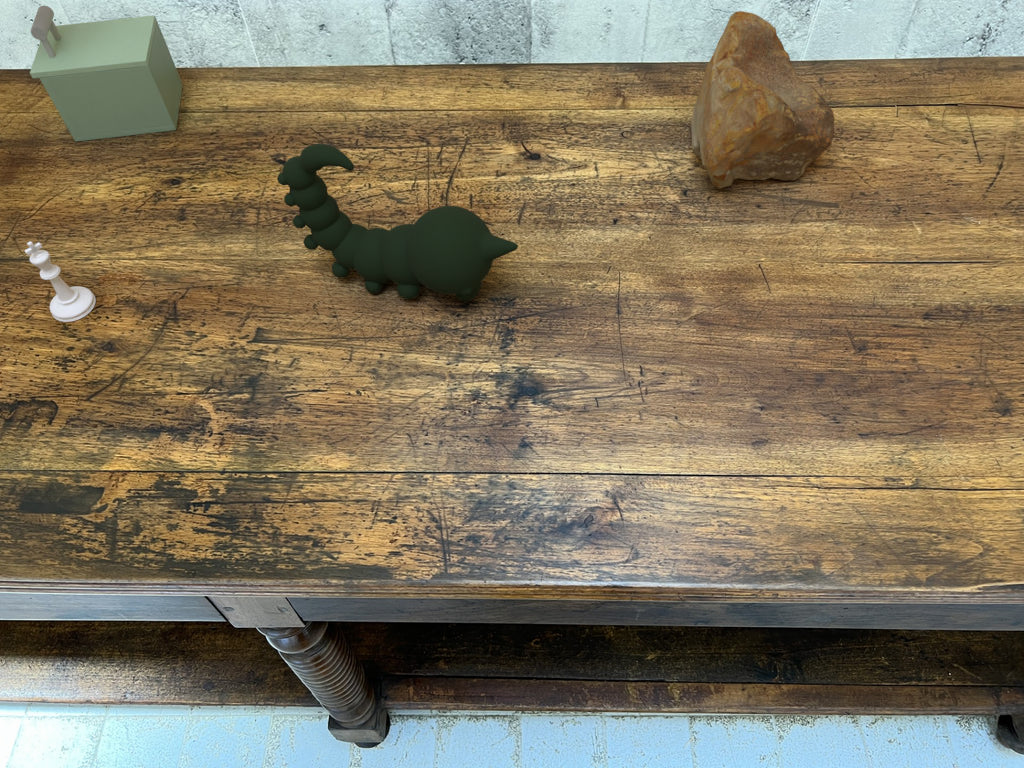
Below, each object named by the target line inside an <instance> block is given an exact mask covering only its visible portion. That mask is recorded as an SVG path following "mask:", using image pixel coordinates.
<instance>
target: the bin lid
mask: <svg viewBox="0 0 1024 768" xmlns="http://www.w3.org/2000/svg"><path fill="white" fill-rule="evenodd" d="M54 17H55V12H54V10H53V9H52V8H51V7H50V6H49V5H40V6H39V7H38V9H37V11H36V13H35V17H34V19H33V22H32V25H31V28H30V35H31V36H32V37H33V38H34V39H36V40H38V41H39V44H38V47H37V50H36V53H35V56H34V59H33V62H32V65H31V68H30V70H29V75H30V77H31V78H32V79H40V78H42V77H52V76H61V75H70V74H79V73H88V72H97V71H106V70H115V69H124V68H134V67H143V66H148V63H149V58H150V53H151V48H152V43H153V38H154V33H155V28H156V22H158V20H157V18H156V15H154V14H153V15H145V16H137V17H136V16H134V17H126V18H119V19H118V18H117V19H116V18H115V19H109V20H108V19H107V20H106V19H105V20H99V21H98V20H97V21H90V22H89V21H88V22H80V23H79V22H78V23H71V24H70V23H69V24H60V25H56V24H55V21H54Z"/></svg>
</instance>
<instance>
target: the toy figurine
mask: <svg viewBox="0 0 1024 768" xmlns="http://www.w3.org/2000/svg"><path fill="white" fill-rule="evenodd" d="M282 166H283V167H282V172H279V173H278V175H277V178H276V179H277V182H278V184H280V185H281V186H288V187H289V191H288V193H286V194H285V195H284V198H283V201H284V203H285V205H287V206H288V207H290V208H291V207H294V206H297V208H299V209H298V211H299V214H296V215H295V216H294V217H293V219H292V224H293V227H294V228H296V229H300V230H302V229H304V228H305V227H307V228H308V229H309V230H310V234H307V235H306V236H305V237H304V239H303V245H304V247H305V248H306V249H307V250H309V251H316V250H317V249H318V248H319V247H320V248H321V249H322V250H324V251H328V252H330V253H331V254H332V257H333V258H334V260H335V261H334V262H333V264H332V265H331V271H332V275H333V276H334V277H335V278H337V279H343V278H347V277H348V276H349V275H350V273H351V270H354V271H356V273H357V274H358V275H359V276H360V277H361V278H363V280H365V282H364V288H365V289H366V291H368V293H370V294H378V293H380V292H381V291H382V289H383V288H384V283H388V282H391V281H392V282H393V283H394V284H397V285H396V287H397V292H398V296H400V297H402V298H403V299H405V300H407V301H409V300H414V299H415V298H418V297H419V295H420V293H421V285H423V286H424V287H426V288H427V289H429V290H430V291H434V292H436V293H439V294H443V295H454V296H455V297H456V299H458V300H460V301H463V302H468V301H472V300H473V299H475V298H476V297H477V296H478V294H479V292H480V290H481V287H482V283H483V281H484V280H485V278H486V277H487V276H488V274H489V273H490V271H491V268H492V266H493V262H494V260H496V259H499V258H501V257H503V256H506V255H507V254H510V253H512V252H514V251H516V250H518V248H519V245H518V244H517V243H516V242H514V241H511V240H508V239H505V238H502V237H500V236H496V235H494V234H492V231H491V230H490V228H489V226H488V225H487V224H486V223H485V221H484V220H483V219H482V218H481V217H480V216H479V215H477V214H476V213H474V212H472V211H471V210H469V209H468V208H464V207H462V206H459V205H442V206H439V207H435V208H432V209H430V210H428V211H426V212H425V213H423V214H422V215H421V216H420V217H419V218H417V220H416V221H415V222H414V223H406V224H398V225H395V226H393V227H392V228H391V229H386V228H384V227H371V228H367V227H366V226H364V225H362V224H358V223H353V222H352V220H351V219H350V217H349V216H348V214H346V213H345V212H343V211H342V210H340V208H339V203H338V202H337V200H336V199H335V197H333V196H332V195H330V194H329V193H328V185H327V184H326V182H325V181H324V179H323V178H322V177H321V176H319V175H318V173H317V172H318V171H321V170H322V169H323V168H324V167H339V168H343V169H344V170H346V171H349V172H352V171H354V169H355V165H354V163H353V161H352V160H351V159H350V158H349V156H347V155H346V154H345V153H344V152H343V151H342V150H340V149H338V148H336V147H335V146H333V145H329V144H325V143H316V144H311V145H308V146H306V147H304V148H303V149H302V150H301V152H300V154H299V155H297V156H293V157H290V158H288V159H287V160H286V161H285V162H284V164H283V165H282Z"/></svg>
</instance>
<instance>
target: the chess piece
mask: <svg viewBox="0 0 1024 768" xmlns="http://www.w3.org/2000/svg"><path fill="white" fill-rule="evenodd" d="M26 245H27V246H28V248H26V249H25V250H24V252H25V254H26V255H27V256H28V257H29V262H30V264H32V265H33V266H35V267H37V268H38V270H39V277H40V278H41V279H42V280H45V281H49V282H50V284H51V286H52V287H53V289H54V291H55V295H54V296H53V298H52V299H51V301H50V303H49V311H50V313H51V315H52V317H53V318H54V319H55V320H57V321H58V322H62V323H69V322H70V323H71V322H76V321H78V320H81V319H84V318H85V317H86V316H88V315H89V314H90V313H91V312H92V311H93V309H94V307H95V306H96V302H97V299H96V295H95V294H94V292H92V291H91V290H90V288H88V287H85V286H81V285H78V286H77V285H76V286H75V285H74V286H69V285H68V284H67V283H66V281H64V280H63V279H62V278H61V276H60V273H61V268H60V266H59V265H57V264H52V260H51V255H50V253H49V252H48V251H47V250H45V249H42V248H43V245H42V243H41V242H40V241H38V242H36V243H35V244H34V243H33V241H31V240H30V241H28V242H26Z"/></svg>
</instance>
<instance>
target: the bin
mask: <svg viewBox="0 0 1024 768" xmlns="http://www.w3.org/2000/svg"><path fill="white" fill-rule="evenodd" d="M39 80H40V82H41V83H42V85H43V87H44V89H45V91H46V92H47V94H48V96H49V98H50V100H51V102H52V103H53V105H54V106H55V109H56V110H57V112H58V114H59V115H60V117H61V119H62V121H63V123H64V125H65V126H66V128H67V130H68V132H69V133H70V136H71V137H72V138H73V140H74V142H77V143H78V142H86V141H93V140H102V139H103V140H104V139H111V138H120V137H128V136H129V137H130V136H138V135H145V134H155V133H164V132H172V131H177V127H178V120H179V114H180V108H181V99H182V94H183V86H184V84H183V82H182V78H181V77H180V74H179V71H178V69H177V66H176V65H175V61H174V59H173V57H172V55H171V52H170V49H169V47H168V44H167V42H166V40H165V37H164V35H163V32H162V29H161V27H160V25H159V22H158V21H157V22H156V28H155V33H154V38H153V43H152V48H151V53H150V58H149V63H148V66H143V67H134V68H124V69H115V70H106V71H97V72H88V73H79V74H70V75H61V76H52V77H42V78H39Z"/></svg>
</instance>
